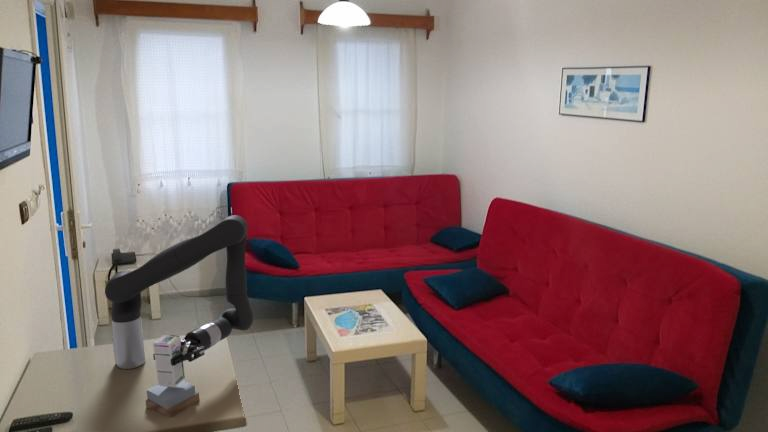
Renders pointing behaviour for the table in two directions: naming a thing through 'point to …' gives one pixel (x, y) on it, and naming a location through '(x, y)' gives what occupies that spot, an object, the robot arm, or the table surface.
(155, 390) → the tower top
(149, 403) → the tower base
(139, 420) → the table surface
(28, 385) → the table surface
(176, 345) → the syrup box
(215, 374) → the table surface
